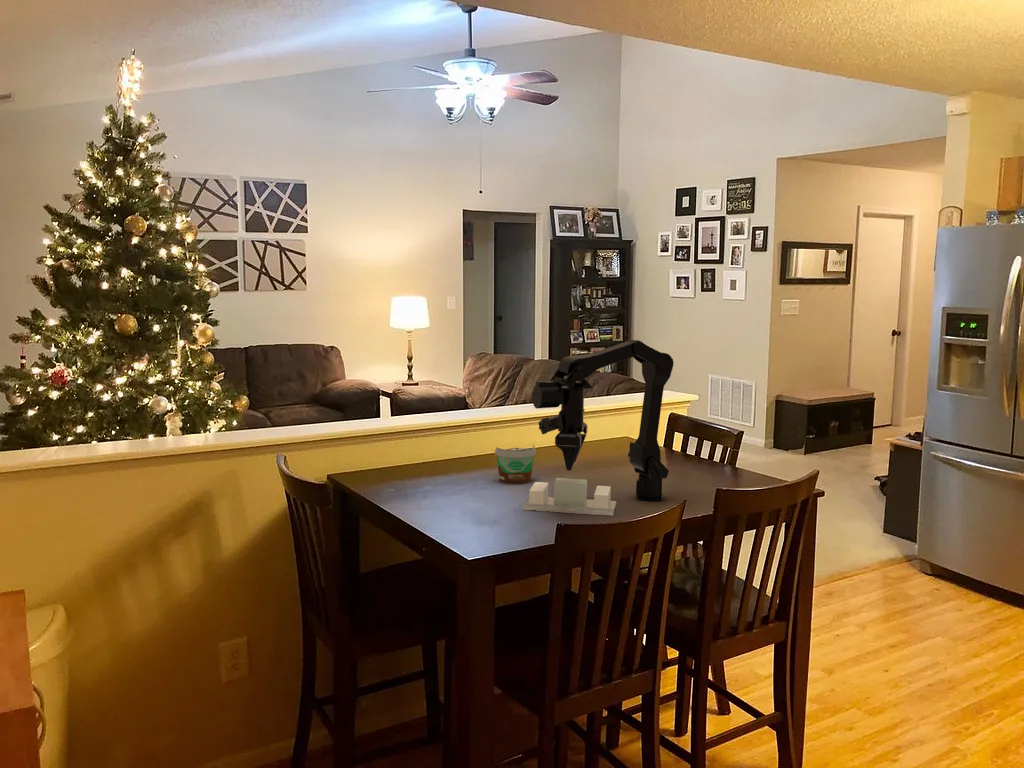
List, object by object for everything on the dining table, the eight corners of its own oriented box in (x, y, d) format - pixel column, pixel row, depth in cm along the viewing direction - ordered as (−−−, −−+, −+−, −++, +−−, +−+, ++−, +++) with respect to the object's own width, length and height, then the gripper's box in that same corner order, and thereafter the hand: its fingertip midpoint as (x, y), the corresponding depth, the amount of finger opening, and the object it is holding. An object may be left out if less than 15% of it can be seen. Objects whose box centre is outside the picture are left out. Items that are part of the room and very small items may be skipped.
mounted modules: (610, 501, 218) (610, 486, 217) (607, 511, 209) (608, 495, 209) (535, 496, 222) (535, 481, 221) (529, 505, 213) (529, 490, 212)
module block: (556, 500, 218) (556, 477, 218) (586, 502, 217) (587, 479, 216) (553, 504, 214) (554, 482, 213) (584, 506, 212) (585, 484, 212)
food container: (499, 486, 236) (499, 451, 234) (494, 480, 242) (494, 447, 240) (541, 483, 239) (541, 449, 238) (534, 478, 245) (535, 445, 243)
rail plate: (616, 504, 218) (616, 498, 218) (613, 515, 208) (613, 509, 208) (529, 499, 223) (529, 493, 222) (523, 509, 213) (523, 503, 213)
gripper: (546, 399, 222) (545, 456, 225) (535, 411, 204) (534, 472, 207) (588, 401, 220) (586, 458, 223) (580, 413, 202) (578, 475, 204)
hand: (571, 466), depth 214 cm, fingers open, 9 cm apart
